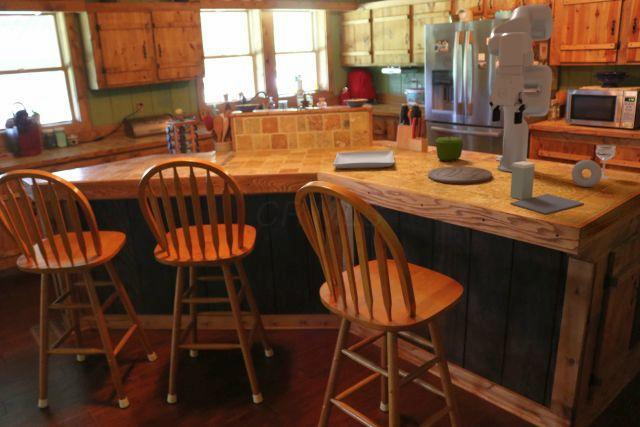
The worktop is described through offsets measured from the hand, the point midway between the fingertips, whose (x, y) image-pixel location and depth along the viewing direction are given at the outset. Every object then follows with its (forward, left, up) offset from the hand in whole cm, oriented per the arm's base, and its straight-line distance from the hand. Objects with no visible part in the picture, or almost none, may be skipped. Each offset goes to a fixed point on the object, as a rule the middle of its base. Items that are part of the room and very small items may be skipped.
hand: (506, 122), depth 183 cm
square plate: (-72, -12, -26) cm, 78 cm away
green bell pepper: (-53, +22, -25) cm, 63 cm away
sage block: (+9, 0, -25) cm, 26 cm away
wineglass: (+8, +45, -25) cm, 52 cm away
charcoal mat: (+19, 0, -25) cm, 31 cm away
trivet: (-26, +4, -25) cm, 37 cm away
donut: (+13, +28, -25) cm, 39 cm away
